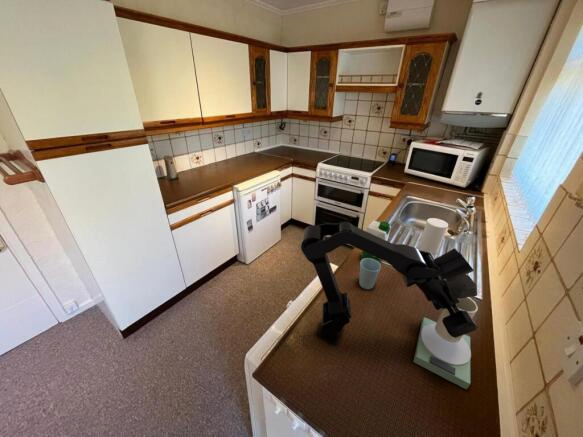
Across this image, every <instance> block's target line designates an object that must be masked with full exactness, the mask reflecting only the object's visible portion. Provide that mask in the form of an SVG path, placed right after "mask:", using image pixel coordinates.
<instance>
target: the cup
mask: <svg viewBox="0 0 583 437" xmlns="http://www.w3.org/2000/svg"><path fill="white" fill-rule="evenodd" d="M361 259H362V258H361ZM381 269H382V265H381V263H380V262H378V261H376V260H374V259H371V258H365V259H362V260H360V262H359V277H358V278H359V280H358V284H359V287H361V288H362V289H365V290H371V289H373V288H374V285H375V283H376V281H377V278H378V276H379V274H380V271H381Z"/></svg>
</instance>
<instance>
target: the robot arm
mask: <svg viewBox="0 0 583 437" xmlns="http://www.w3.org/2000/svg"><path fill="white" fill-rule="evenodd" d="M327 236H329V237H327ZM345 245H349V246H352V247H353V248H355V249H357V250H360V251H361V252H362V251H364V252H367V253H369V254H371V255H373V256H375V257H378V258H380V259H382V260H381V261H384V262H386V263H388V264H389V265H390V266H391V267H392V268H393V269H394V270H395V271H396V272H398V273H400V274H401V275H402V279H403V281H404V284H405V286H406V288H410V287H412V286H414V285H416V287H417V288H418V289H419V290H420V291H421V292H422V293H423V295H424V297H425V299H426V300H427V301H428V302H431V303H432V305H433V307H434V308H435V311H439V310H441V309H447V310H448V311H449V313H450V315H449V316H447V317H444V318H443V320H442V322H443V324H444V326H445V328H446V330H447V332H448V333H449V334H450V335H451V336H452V337H454V338H456V337H459V336H462V335H467V334H470V333H473V332H475V331H477V330H478V326H477V323H476V322H475V321H474V320H473V319H474V318H473V319H472V318H471V316H470V315H469V314H468V312H467V311H462V310H459V309H458V307H457V306H456V304H457V303H459V302H460V300H459V299H458V298H460V299H462V298H467V297H469V298H471V297H472V298H475V297H477V296H478V287H477V284H476V282H475V281H474V280H473V279H472V277H471V276H470V275H468V274H471V273H474V272H475V270H474V268H473V267H472V266H471V264H470V263H469V262H468V261H467V259H466V258H465V257H464V256H463V254H462V253H461V251H458V249H457V248H452V249H450V250H448V251H447V252H446V253H444V254H442V255H440V256H438V257H437V256H436V258H434V257H433V256H432V254H431V253H430V252H425V251H420V250H418V248H417V247H414V246H412V245H408V244H403V243H400V244H399V243H397V244H396V243H393V242H390V241H388V240H387V241H386V240H384V239H381V238H379V237H377V236H375V235H373V234H371V233H368V232H366V230H365V229H362V228H360V227H358V226H355V225H354V224H352V223H351V222H349V221H341V222H337V223H336V222H335V223H333V222H332V223H331V222H325V223H321V224H317V225H316V224H311V225H308V226H306V227H305V228H304V230H303V234H302V239H301V245H300V250H301V252H302V254H303V255H304V258H306V260H307V261H308V262H310V263H311V264H312V265H313V267H314V270H315V272H316V274H317V277H318V279H319V280H318V281H319V282H320V285H321V287H322V291H323V293H324V295H325V298H326V301H325V302H323V303H322V315H321V324H320V327H319V328H318V330H317V331H316V336H317V337H320V338H321V339H323V340H325V341H326V342H328V343H330V344H331V345H333V346H334V345H336V343H337V342H338V340H339V338H340V336H341V334H342V332H343V328H344V327H345V326H346V325H348V324H350V321H351V320H350V319H352V308H351V300H350V299H349V297H348V292H346V291H345V292H341V291H340V288H339V285H338V282H337V279H336V276H335V273H334V270H333V268H332V265H331V262H330V260H329V257H328V254H329V253H331V252H333V251H335V250H336V249H338V248H341V247H342V246H345ZM451 306H452V307H453V309H454V310H455V312H456V313H455V312H454V310H453V309H452V307H451Z"/></svg>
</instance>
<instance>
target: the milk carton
mask: <svg viewBox="0 0 583 437" xmlns="http://www.w3.org/2000/svg"><path fill="white" fill-rule="evenodd" d="M391 228H392V226H391V224H390V223H389V222H387V221H376V220H373V221H372V222H370V224H368V225H367V226H366V230H365V231H366V232H368V233H371V234H373V235H375V236H377V237H379V238H381V239H384V240H386V241H388V240H389V236H390V233H391ZM365 258H371V259H374V260H376V261H378V262H379V263H380V262H382V261H383V260H382V259H380V258H378V257H375V256H373V255H371V254H369V253H367V252H364V251H362V250H361V260H362V259H365ZM361 260H360V261H361Z"/></svg>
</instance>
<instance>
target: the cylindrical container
mask: <svg viewBox="0 0 583 437" xmlns="http://www.w3.org/2000/svg"><path fill="white" fill-rule="evenodd" d="M448 228H449V223H448V222H447V221H445V220H443V219H440V218H437V217H430V218H428V219H427V220H426V222H425V225H424V228H423V231H422V235H421V238H420V240H419V244H418V246H417V249H418V250H420V251H425V252H430V253H431V254H432V256H433V257H434V258H437V256H438V253H439V250H440V248H441V245H442V243H443V240H444V238H445V235H446V233H447V230H448Z"/></svg>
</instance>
